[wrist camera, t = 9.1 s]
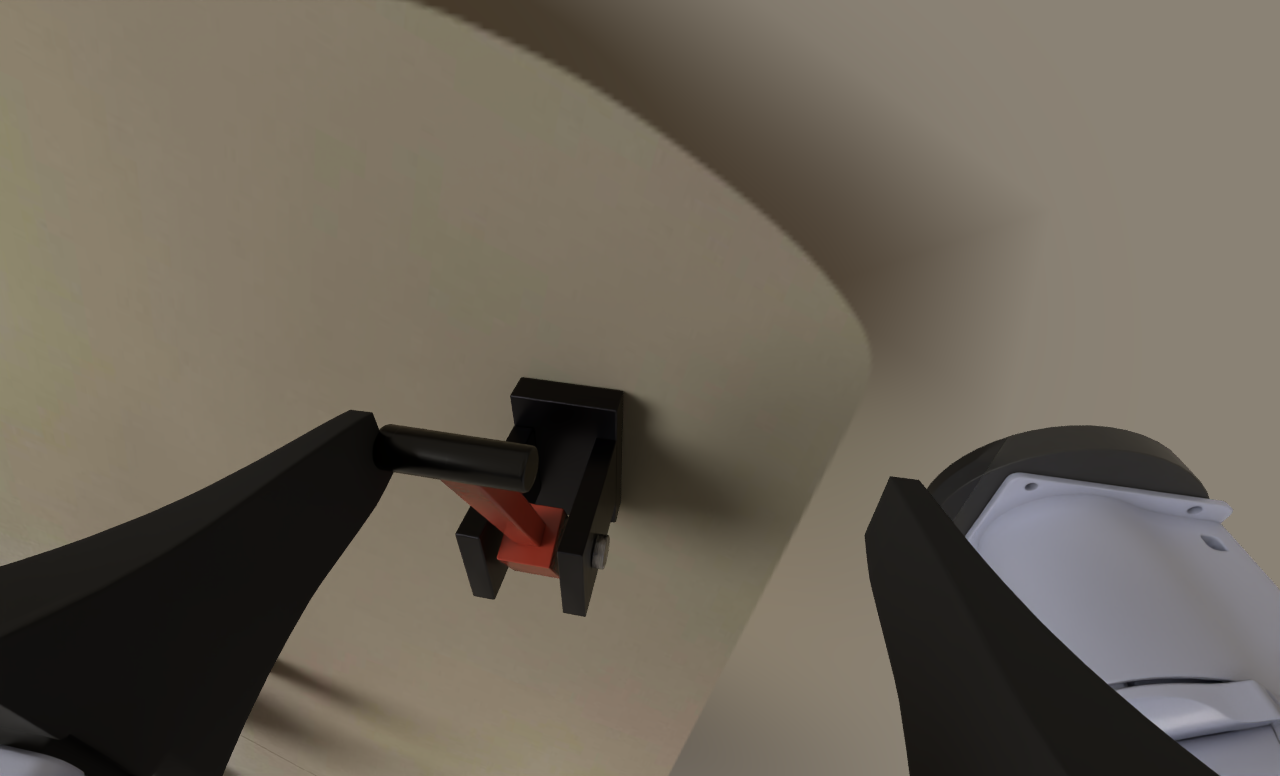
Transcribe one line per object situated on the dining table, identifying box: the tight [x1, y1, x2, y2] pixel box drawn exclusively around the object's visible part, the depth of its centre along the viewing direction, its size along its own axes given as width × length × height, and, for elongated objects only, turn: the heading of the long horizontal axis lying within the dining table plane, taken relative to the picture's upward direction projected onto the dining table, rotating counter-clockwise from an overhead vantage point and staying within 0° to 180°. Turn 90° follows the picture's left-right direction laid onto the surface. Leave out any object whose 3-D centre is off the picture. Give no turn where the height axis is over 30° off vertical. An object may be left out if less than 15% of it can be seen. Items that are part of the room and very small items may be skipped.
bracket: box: [455, 377, 623, 617], centre depth 24 cm, size 8×6×8 cm
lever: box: [372, 424, 569, 579], centre depth 18 cm, size 12×4×2 cm, turn 178°
